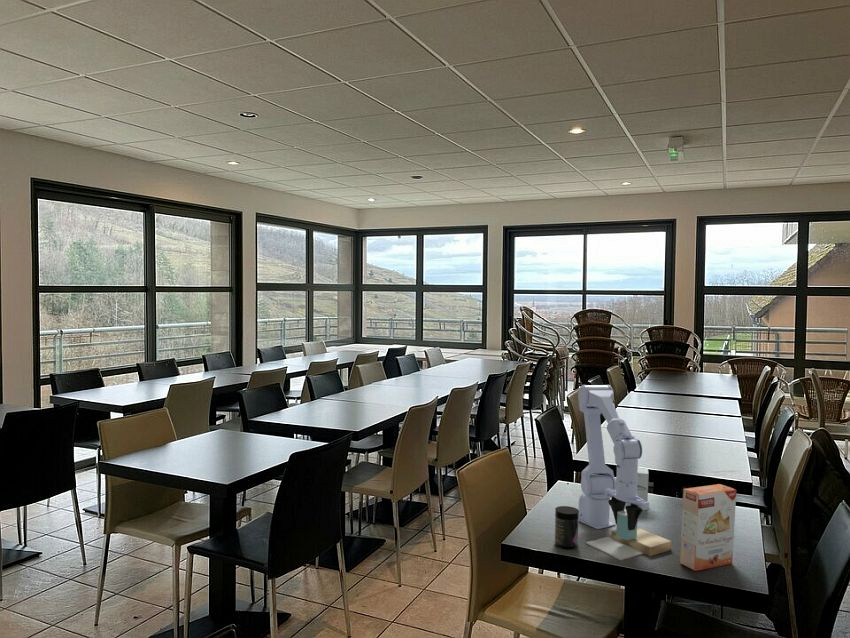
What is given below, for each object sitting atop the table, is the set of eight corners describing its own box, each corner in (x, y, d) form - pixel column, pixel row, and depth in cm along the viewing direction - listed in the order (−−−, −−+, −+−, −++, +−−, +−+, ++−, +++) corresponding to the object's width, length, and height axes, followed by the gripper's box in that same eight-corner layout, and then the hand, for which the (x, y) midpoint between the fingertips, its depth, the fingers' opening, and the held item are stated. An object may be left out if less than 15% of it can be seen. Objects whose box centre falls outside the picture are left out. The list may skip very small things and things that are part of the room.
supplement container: (572, 552, 177) (573, 515, 177) (550, 546, 181) (551, 510, 181) (581, 544, 183) (582, 509, 182) (559, 538, 187) (560, 504, 186)
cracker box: (696, 572, 165) (699, 494, 165) (678, 563, 171) (681, 487, 170) (734, 564, 171) (737, 488, 170) (716, 556, 177) (719, 482, 176)
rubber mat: (586, 543, 184) (586, 542, 184) (607, 537, 188) (607, 536, 188) (620, 560, 172) (620, 558, 172) (643, 553, 177) (643, 552, 177)
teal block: (616, 535, 183) (617, 511, 182) (625, 533, 185) (627, 509, 185) (627, 540, 179) (628, 515, 179) (636, 538, 181) (637, 514, 181)
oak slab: (611, 538, 188) (611, 530, 187) (632, 533, 192) (632, 525, 192) (650, 556, 176) (650, 547, 175) (671, 549, 180) (671, 541, 180)
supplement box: (624, 507, 215) (626, 471, 215) (624, 501, 222) (625, 465, 222) (647, 510, 213) (648, 473, 213) (646, 503, 220) (648, 468, 220)
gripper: (656, 485, 177) (655, 532, 177) (616, 472, 189) (615, 516, 190) (639, 488, 173) (638, 537, 174) (600, 475, 186) (598, 520, 186)
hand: (625, 526), depth 182 cm, fingers closed on teal block, 4 cm apart
